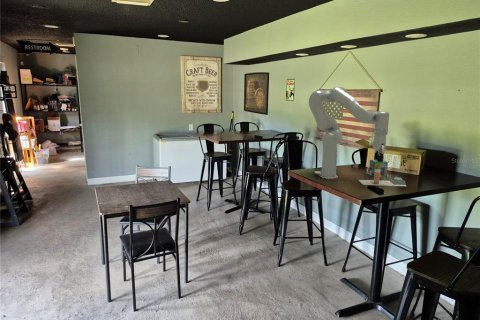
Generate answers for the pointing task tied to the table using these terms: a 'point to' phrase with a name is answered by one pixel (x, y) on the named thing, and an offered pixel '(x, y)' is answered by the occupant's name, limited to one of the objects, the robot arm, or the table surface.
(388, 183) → the colouring board
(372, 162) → the chalk box
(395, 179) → the button
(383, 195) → the table surface
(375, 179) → the rust marker
